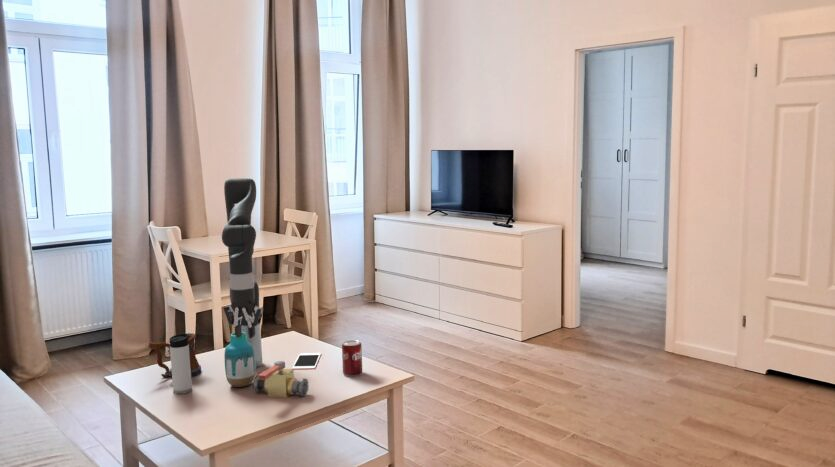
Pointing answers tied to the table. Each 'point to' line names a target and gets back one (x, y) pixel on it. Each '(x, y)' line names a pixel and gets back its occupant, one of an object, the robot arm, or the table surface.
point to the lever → (272, 370)
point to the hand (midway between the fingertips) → (245, 337)
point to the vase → (239, 361)
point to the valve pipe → (281, 384)
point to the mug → (193, 361)
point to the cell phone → (306, 361)
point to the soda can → (352, 358)
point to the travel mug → (180, 363)
